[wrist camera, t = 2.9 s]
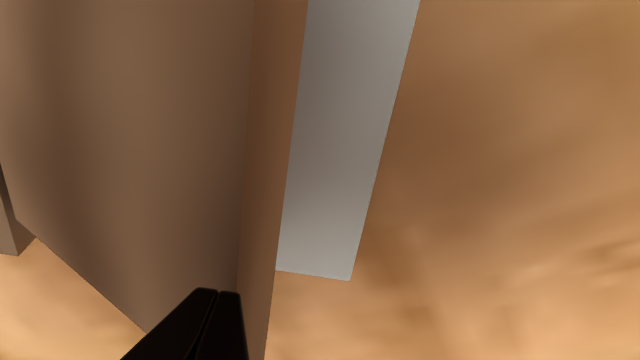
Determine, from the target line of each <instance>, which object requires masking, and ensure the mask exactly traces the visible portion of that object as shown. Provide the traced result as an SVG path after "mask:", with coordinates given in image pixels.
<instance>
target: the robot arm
mask: <svg viewBox="0 0 640 360" xmlns="http://www.w3.org/2000/svg"><path fill="white" fill-rule="evenodd" d="M120 360H250V358H249V350H248V343H247V336H246V328H245V321H244V314H243V306H242V299H241V295H240V293H238V292H231V291H225V290H222V291H220V292H218V290H216V289H211V288H205V287H198V288H196V289H194V290H193V291H192V292H191V293H190V294H189V295H188V296H187V297H186V298H185V299H184V300H183V301H182V302H181V303H179V304H178V305H177V306H176V307H175V308H174V309H173V310H172V311H171V312H170V313H169V314H168V315H167V316H166V317H165V318H164V319H163V320H161V321H160V322H159V323H158V324H157V325H156V326H155V327H154V328H153V329H152V330H151V331H150V332H149V333H148V334H147V335H146V336H145V337H143V338H142V339H141V340H140V341H139V342H138V343H137V344H136V345H135V346H134V347H133V348H132V349H131V350H130V351H129V352H128V353H127V354H125V355H124V356H123V357H122V358H121V359H120Z"/></svg>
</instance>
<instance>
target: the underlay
mask: <svg viewBox="0 0 640 360" xmlns="http://www.w3.org/2000/svg"><path fill="white" fill-rule="evenodd" d="M419 4H420V0H309V1H308V9H307V17H306V25H305V33H304V41H303V49H302V57H301V65H300V73H299V82H298V90H297V98H296V106H295V114H294V122H293V130H292V138H291V146H290V154H289V162H288V170H287V178H286V186H285V194H284V202H283V210H282V218H281V226H280V234H279V242H278V251H277V259H276V267H275V270H277V271H284V272H291V273H297V274H304V275H310V276H317V277H323V278H330V279H337V280H343V281H350V278H351V274H352V270H353V266H354V262H355V258H356V254H357V250H358V246H359V243H360V239H361V235H362V231H363V227H364V223H365V219H366V215H367V211H368V207H369V203H370V199H371V195H372V191H373V187H374V183H375V179H376V175H377V171H378V167H379V163H380V159H381V155H382V151H383V147H384V143H385V139H386V135H387V131H388V127H389V123H390V119H391V115H392V111H393V107H394V103H395V99H396V95H397V91H398V87H399V83H400V79H401V75H402V72H403V68H404V64H405V60H406V56H407V52H408V48H409V44H410V40H411V36H412V32H413V28H414V24H415V20H416V16H417V12H418V8H419Z"/></svg>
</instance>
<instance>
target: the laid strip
mask: <svg viewBox="0 0 640 360" xmlns="http://www.w3.org/2000/svg"><path fill="white" fill-rule="evenodd" d="M35 238H36V236H35V235H33V234H32V233H31V232H30V231H29V230H28V229H27V228H25V227H24V226H23V225H22V224H21V223H20V222H19V221H17V220H16V217H15V214H14V210H13V207H12V203H11V199H10V196H9V192H8V189H7V185H6V181H5V178H4V174H3V171H2V167H1V163H0V254H6V255H13V256H19V255H20V254H21V253H22V252H23V251H24V250H25V249H26V247H27V246H28V245H29V244H30V243H31V242H32V241H33V240H34V239H35Z"/></svg>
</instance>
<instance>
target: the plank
mask: <svg viewBox="0 0 640 360" xmlns="http://www.w3.org/2000/svg"><path fill="white" fill-rule="evenodd" d="M308 1H309V0H0V163H1V167H2V171H3V174H4V178H5V181H6V185H7V189H8V192H9V196H10V199H11V203H12V207H13V210H14V214H15V217H16V220H17V221H19V222H20V223H21V224H22V225H23V226H24V227H25V228H27V229H28V230H29V231H30V232H31V233H32V234H33V235H35V236H36V237H37V238H38V239H39V240H40V241H41V242H43V243H44V244H45V245H46V246H47V247H48V248H49V249H51V250H52V251H53V252H54V253H55V254H56V255H57V256H59V257H60V258H61V259H62V260H63V261H64V262H65V263H67V264H68V265H69V266H70V267H71V268H72V269H73V270H75V271H76V272H77V273H78V274H79V275H80V276H81V277H83V278H84V279H85V280H86V281H87V282H88V283H89V284H91V285H92V286H93V287H94V288H95V289H96V290H97V291H99V292H100V293H101V294H102V295H103V296H104V297H105V298H107V299H108V300H109V301H110V302H111V303H112V304H113V305H115V306H116V307H117V308H118V309H119V310H120V311H121V312H123V313H124V314H125V315H126V316H127V317H128V318H129V319H131V320H132V321H133V322H134V323H135V324H136V325H137V326H139V327H140V328H141V329H142V330H143V331H144V332H145V333H147V334H148V333H149V332H150V331H151V330H152V329H153V328H154V327H155V326H156V325H157V324H158V323H159V322H160V321H161V320H163V319H164V318H165V317H166V316H167V315H168V314H169V313H170V312H171V311H172V310H173V309H174V308H175V307H176V306H177V305H178V304H179V303H181V302H182V301H183V300H184V299H185V298H186V297H187V296H188V295H189V294H190V293H191V292H192V291H193V290H194V289H196V288H198V287H205V288H211V289H216V290H218V292H220V291H222V290H225V291H231V292H238V293H240V295H241V299H242V306H243V314H244V321H245V328H246V336H247V343H248V350H249V358H250V360H264V355H265V347H266V339H267V331H268V323H269V315H270V307H271V299H272V291H273V283H274V275H275V267H276V259H277V251H278V242H279V234H280V226H281V218H282V210H283V202H284V194H285V186H286V178H287V170H288V162H289V154H290V146H291V138H292V130H293V122H294V114H295V106H296V98H297V90H298V82H299V73H300V65H301V57H302V49H303V41H304V33H305V25H306V17H307V9H308Z"/></svg>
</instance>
